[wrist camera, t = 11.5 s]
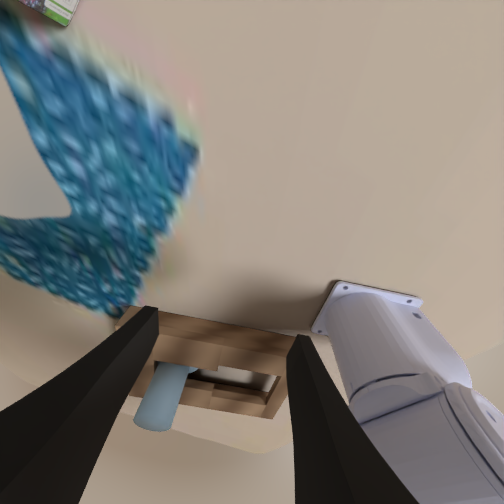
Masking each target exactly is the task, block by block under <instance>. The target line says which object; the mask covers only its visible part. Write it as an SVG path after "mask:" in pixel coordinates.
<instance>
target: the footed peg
mask: <svg viewBox="0 0 504 504" xmlns="http://www.w3.org/2000/svg"><path fill="white" fill-rule="evenodd" d="M197 369H198V368H195V367H189V366H184V365H178V364H173V363H167V362H161V361H158V366H157V369H156V371H155V373H154V375H153V377H152V379H151V382H150V384H149V386H148V388H147V390H146V393H145V395H144V397H143V399H142V401H141V403H140V406H139V408H138V410H137V412H136V414H135V417H134V419H133V421H134V423H135V424H136V425H137V426H139V427H141V428H144V429H146V430H151V431H158V432H159V431H160V432H161V431H167V430H169V429H170V428H171V425H172V422H173V419H174V416H175V413H176V410H177V406H178V403H179V400H180V397H181V394H182V391H183V388H184V384H185V381H186V378H187V375H188V373H192V372H194V371H196V370H197Z"/></svg>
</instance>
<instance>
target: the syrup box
mask: <svg viewBox="0 0 504 504" xmlns="http://www.w3.org/2000/svg"><path fill="white" fill-rule="evenodd" d="M18 1H19V2H21V3H23V4H25V5H27V6H29V7H30V8H32V9H34V10H36V11H38V12H40V13H42V14H43V15H45V16H47V17H49V18H51V19H53V20H54V21H56V22H58V23H60V24H61V25H63V26H67V25H69V23H70V20H71V18H72V16H73V14H74V12H75V9H76V7H77V5H78V3H79V0H18Z"/></svg>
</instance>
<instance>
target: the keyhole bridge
mask: <svg viewBox="0 0 504 504" xmlns="http://www.w3.org/2000/svg"><path fill="white" fill-rule="evenodd" d="M141 309H142V308H141V307H135V306H130V307H129V308H128V309H127V311H126V312H125V313H124V315H123V316H122V317H121V318H120V320H119V321H118V322H117V324H116V325H115V328H116V331H117V330H118V329H119V328H120V327H121V326H122V325H124V324H125V323H126V322H127V321H128V320H129V319H131V318H132V317H133V316H134V315H135V314H136V313H137V312H138V311H140V310H141ZM158 317H159V336H158V338H157V340H156V343H155V345H154V347H153V350H152V352H151V354H150V356H149V358H148V360H147V362H146V364H145V365H144V367H143V369H142V371H141V373H140V375H139V376H138V378H137V380H136V382H135V384H134V385H133V387H132V389H131V391H130V393H129V396H134V397H140V398H143V397H144V395H145V393H146V390H147V388H148V386H149V384H150V382H151V379H152V377H153V375H154V373H155V371H156V369H157V366H158V361H161V362H167V363H173V364H178V365H184V366H189V367H195V368H201V369H206V370H212V371H217V370H218V365H220V366H225V367H231V368H237V369H242V370H248V371H253V372H259V373H265V374H270V375H276V376H277V377H276V379H275V381H274V383H273V385H272V387H271V389H270V391H269V392H263V391H257V390H251V389H246V388H240V387H234V386H228V385H223V384H217V383H211V382H205V381H199V380H194V379H188V378H186V381H185V384H184V388H183V391H182V394H181V397H180V400H179V403H178V404H182V405H188V406H195V407H201V408H207V409H213V410H219V411H225V412H231V413H237V414H243V415H249V416H255V417H261V418H267V419H273V417H274V416H275V414H276V413H277V411H278V409H279V408H280V406H281V404H282V403H283V401H284V400H285V398H286V396H287V395H288V389H287V380H286V356H287V354H288V352H289V350H290V348H291V346H292V344H293V342H294V341H295V339H296V337H292V336H287V335H282V334H277V333H271V332H266V331H261V330H256V329H251V328H245V327H240V326H235V325H230V324H224V323H219V322H214V321H209V320H203V319H198V318H193V317H188V316H183V315H177V314H172V313H167V312H162V311H158Z"/></svg>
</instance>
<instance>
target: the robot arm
mask: <svg viewBox="0 0 504 504" xmlns="http://www.w3.org/2000/svg"><path fill="white" fill-rule="evenodd" d="M344 286H346V287H344ZM422 304H423V300H422V299H421V298H419V297H415V296H410V295H405V294H400V293H396V292H391V291H386V290H381V289H377V288H372V287H367V286H362V285H358V284H353V283H348V282H343V281H339V282H337V283H336V284H335V285H334V287H333V289H332V291H331V293H330V294H329V296H328V298H327V300H326V302H325V304H324V305H323V307H322V309H321V311H320V313H319V315H318V316H317V318H316V320H315V322H314V324H313V325H312V327H311V331H312V332H313V333H316V334H321V335H326V336H329V339H330V342H331V346H332V349H333V352H334V355H335V359H336V362H337V365H338V369H339V372H340V375H341V378H342V382H343V385H344V388H345V391H346V395H347V398H348V401H349V406H347V404H346V403H345V401H344V399H343V398H342V396H341V394H340V393H339V391H338V389H337V388H336V386H335V384H334V382H333V380H332V379H331V377H330V375H329V373H328V371H327V370H326V368H325V366H324V364H323V362H322V360H321V358H320V356H319V354H318V352H317V350H316V348H315V346H314V344H313V342H312V340H311V338H310V337H309V336H305V335H300V334H298V335H297V337H296V339H295V341H294V342H293V344H292V346H291V348H290V350H289V352H288V354H287V356H286V380H287V389H288V398H289V406H290V414H291V423H292V432H293V444H294V469H295V504H504V415H503V414H502V413H501V412H500V411H499V410H498V409H497V408H496V407H495V406H494V405H493V404H492V403H491V402H490V401H489V400H487V399H486V398H485V397H484V396H483V395H481V394H480V393H479V392H477V391H475V390H473V389H472V382H471V377H470V374H469V371H468V369H467V367H466V364H465V363H464V361H463V359H462V358H461V357H460V355H459V354H458V353H457V352H456V351H455V349H454V348H453V347H452V346H451V345H450V344H449V342H448V341H447V340H446V339H445V338H444V337H443V335H442V334H441V333H440V332H439V331H438V330H437V329H436V327H435V326H434V325H433V324H432V323H431V322H430V320H429V319H428V318H427V317H426V316H425V315H424V313H423V312H422V311H421V310H420V309H419V307H420V306H421V305H422ZM158 336H159V317H158V308H156V307H151V306H144V307H143V308H142V309H141V310H140V311H138V312H137V313H136V314H135V315H134V316H133V317H132V318H131V319H129V320H128V321H127V322H126V323H125V324H124V325H122V326H121V327H120V328H119V329H118V330H117V331H115V332H114V333H113V334H112V335H110V336H109V337H108V338H107V339H106V340H104V341H103V342H102V343H101V344H99V345H98V346H97V347H95V348H94V349H93V350H91V351H90V352H89V353H88V354H86V355H85V356H84V357H82V358H81V359H80V360H78V361H77V362H76V363H74V364H73V365H71V366H70V367H69V368H67V369H66V370H64V371H63V372H61V373H60V374H58V375H57V376H56V377H54V378H53V379H51V380H50V381H48V382H47V383H45V384H44V385H42V386H41V387H39V388H37V389H36V390H34V391H33V392H31V393H30V394H28V395H26V396H25V397H23V398H22V399H20V400H19V401H17V402H15V403H14V404H12V405H10V406H9V407H7V408H6V409H4V410H2V411H0V504H78V503H79V501H80V498H81V496H82V494H83V491H84V489H85V487H86V485H87V482H88V480H89V477H90V475H91V473H92V470H93V468H94V466H95V464H96V461H97V459H98V457H99V454H100V452H101V450H102V448H103V446H104V443H105V441H106V439H107V436H108V435H109V432H110V430H111V428H112V426H113V424H114V421H115V419H116V417H117V415H118V413H119V411H120V409H121V407H122V405H123V403H124V402H125V400H126V398H127V396H128V394H129V393H130V391H131V389H132V387H133V385H134V384H135V382H136V380H137V378H138V376H139V375H140V373H141V371H142V369H143V367H144V365H145V364H146V362H147V360H148V358H149V356H150V354H151V352H152V350H153V347H154V345H155V343H156V340H157V338H158Z"/></svg>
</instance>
